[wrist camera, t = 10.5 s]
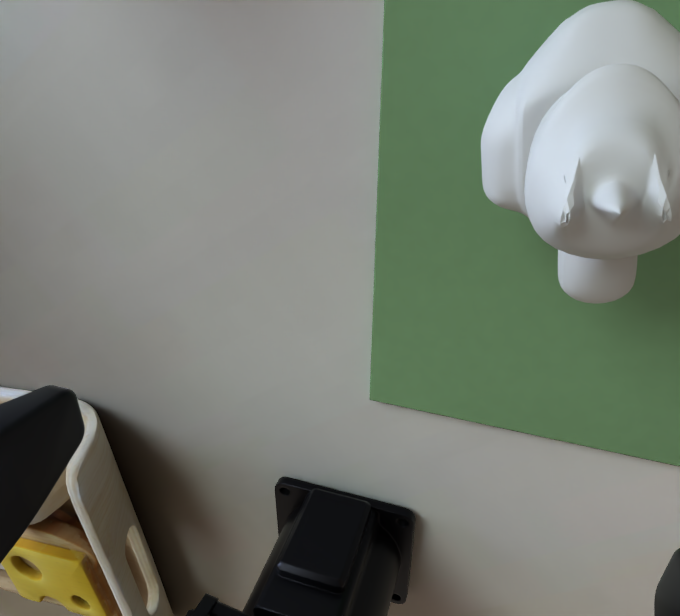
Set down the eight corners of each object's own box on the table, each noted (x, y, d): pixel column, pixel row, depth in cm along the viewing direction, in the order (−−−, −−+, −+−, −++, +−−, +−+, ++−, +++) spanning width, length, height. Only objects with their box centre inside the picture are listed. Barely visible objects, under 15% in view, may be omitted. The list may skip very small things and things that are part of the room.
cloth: (711, 467, 20) (712, 474, 20) (371, 395, 23) (369, 399, 23) (1125, -404, 10) (1139, -413, 9) (399, -322, 13) (396, -327, 12)
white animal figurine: (737, -26, 13) (896, 13, 7) (697, 244, 16) (778, 445, 10) (488, 10, 15) (428, 66, 9) (495, 246, 18) (455, 416, 12)
